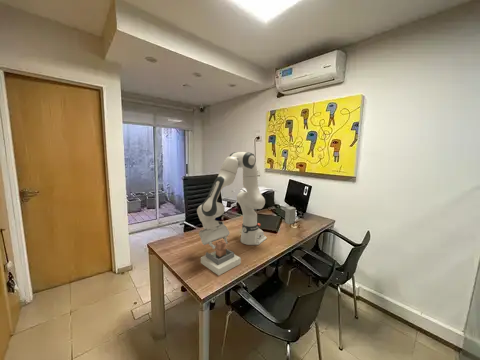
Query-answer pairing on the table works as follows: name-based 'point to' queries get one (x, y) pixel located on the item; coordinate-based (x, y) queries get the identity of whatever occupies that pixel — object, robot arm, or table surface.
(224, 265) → the bay dock
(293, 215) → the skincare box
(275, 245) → the table surface
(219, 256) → the block
